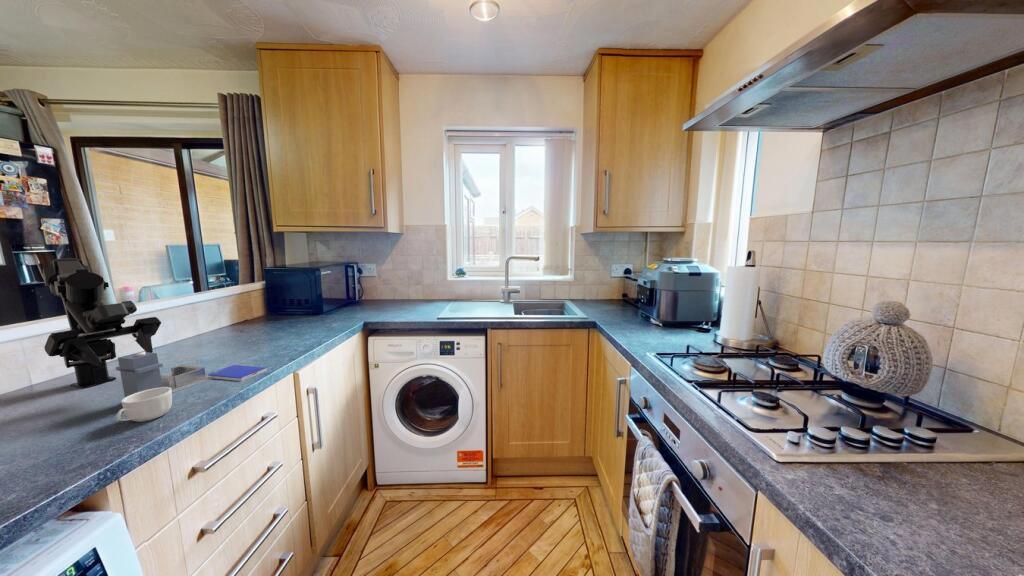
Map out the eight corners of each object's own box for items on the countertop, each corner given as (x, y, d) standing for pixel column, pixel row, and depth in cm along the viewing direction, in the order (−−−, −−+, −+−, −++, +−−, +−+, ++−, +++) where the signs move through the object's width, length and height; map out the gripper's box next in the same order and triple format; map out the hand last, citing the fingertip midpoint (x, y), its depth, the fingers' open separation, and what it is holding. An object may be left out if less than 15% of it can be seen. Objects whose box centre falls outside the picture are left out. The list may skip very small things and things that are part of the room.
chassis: (137, 387, 92) (135, 376, 91) (181, 373, 101) (180, 363, 101) (172, 392, 88) (170, 380, 88) (214, 378, 98) (213, 367, 97)
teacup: (152, 408, 80) (149, 387, 79) (184, 408, 80) (181, 386, 79) (101, 431, 70) (97, 407, 69) (138, 431, 70) (134, 407, 69)
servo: (122, 403, 83) (113, 354, 81) (146, 395, 87) (138, 348, 85) (144, 407, 80) (136, 356, 79) (168, 398, 85) (160, 351, 83)
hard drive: (207, 374, 98) (241, 377, 95) (235, 364, 106) (267, 366, 103) (208, 379, 98) (241, 382, 95) (236, 368, 106) (267, 371, 103)
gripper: (41, 298, 74) (80, 349, 72) (151, 287, 91) (184, 328, 90) (28, 331, 77) (65, 381, 75) (137, 314, 94) (169, 354, 93)
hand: (127, 358), depth 83 cm, fingers open, 9 cm apart
